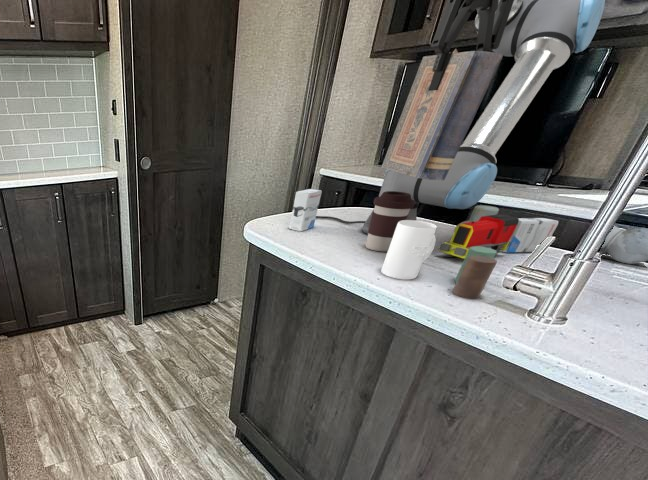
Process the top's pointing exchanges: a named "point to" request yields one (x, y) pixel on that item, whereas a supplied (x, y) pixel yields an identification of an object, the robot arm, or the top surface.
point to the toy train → (481, 235)
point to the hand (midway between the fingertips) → (448, 90)
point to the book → (439, 114)
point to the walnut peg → (474, 276)
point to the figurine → (626, 245)
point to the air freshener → (481, 213)
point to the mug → (409, 249)
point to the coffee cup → (387, 218)
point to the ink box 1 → (305, 209)
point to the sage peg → (476, 251)
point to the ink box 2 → (530, 234)
